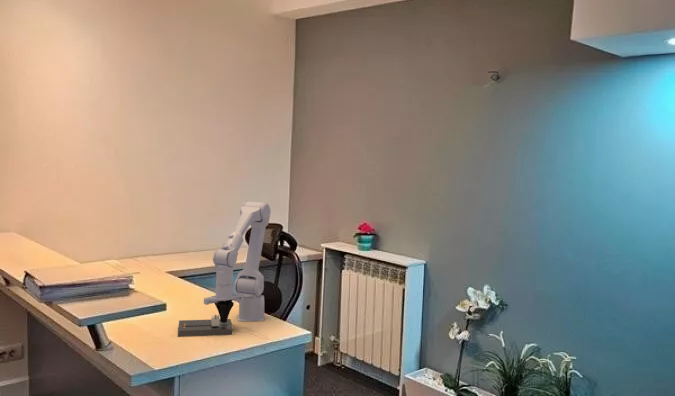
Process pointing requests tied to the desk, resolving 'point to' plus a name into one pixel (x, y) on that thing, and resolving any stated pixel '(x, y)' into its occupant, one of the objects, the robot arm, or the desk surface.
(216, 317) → the fader knob
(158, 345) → the desk surface
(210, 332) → the fader console
